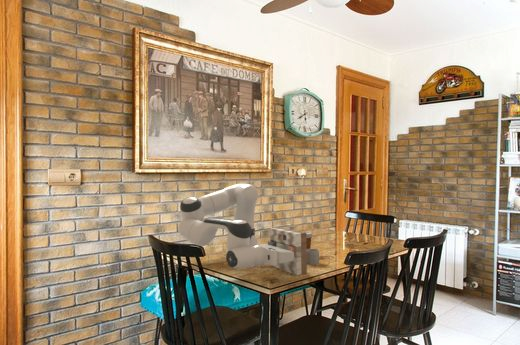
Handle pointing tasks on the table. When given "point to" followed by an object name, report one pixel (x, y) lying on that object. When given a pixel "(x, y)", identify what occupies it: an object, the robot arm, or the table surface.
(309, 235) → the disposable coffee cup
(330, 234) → the table surface
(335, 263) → the table surface
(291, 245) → the terracotta key
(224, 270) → the table surface
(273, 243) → the charcoal key
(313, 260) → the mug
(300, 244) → the keypad panel
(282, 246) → the sage key
